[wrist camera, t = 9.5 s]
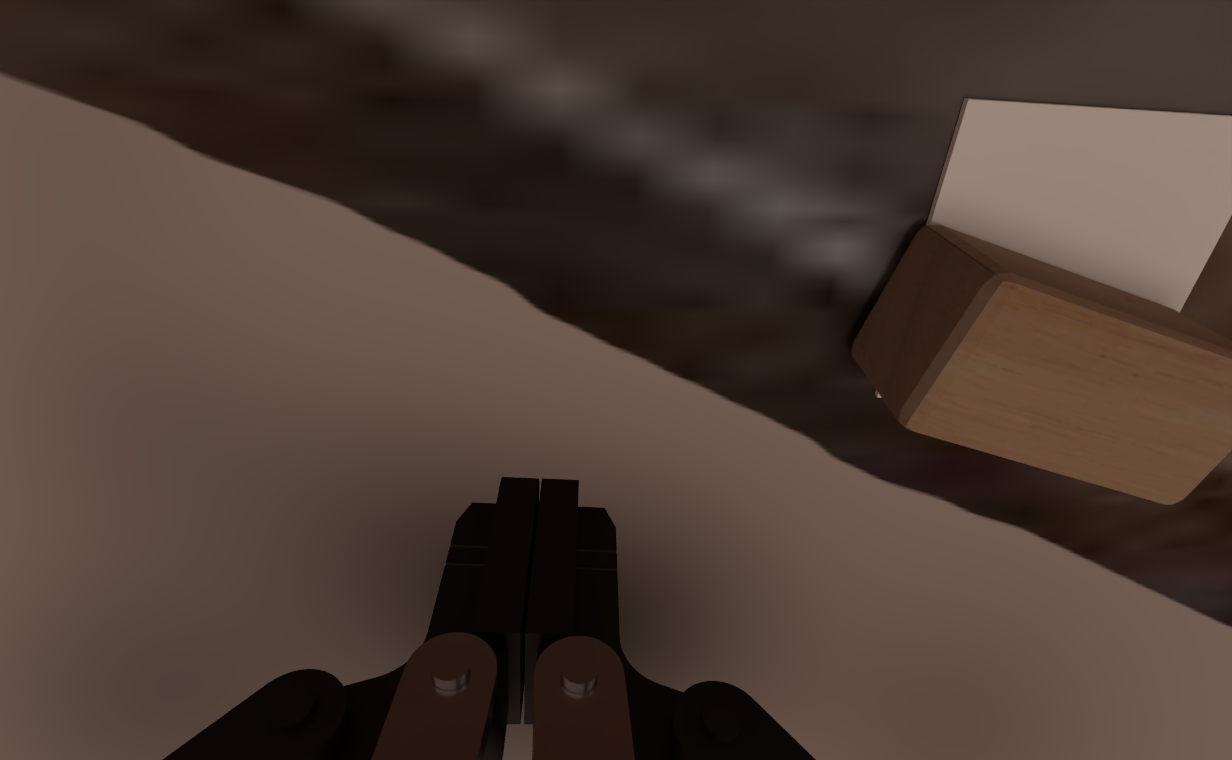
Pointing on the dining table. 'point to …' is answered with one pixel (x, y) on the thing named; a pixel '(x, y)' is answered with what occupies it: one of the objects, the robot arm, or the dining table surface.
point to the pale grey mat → (1092, 190)
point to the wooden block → (1048, 368)
